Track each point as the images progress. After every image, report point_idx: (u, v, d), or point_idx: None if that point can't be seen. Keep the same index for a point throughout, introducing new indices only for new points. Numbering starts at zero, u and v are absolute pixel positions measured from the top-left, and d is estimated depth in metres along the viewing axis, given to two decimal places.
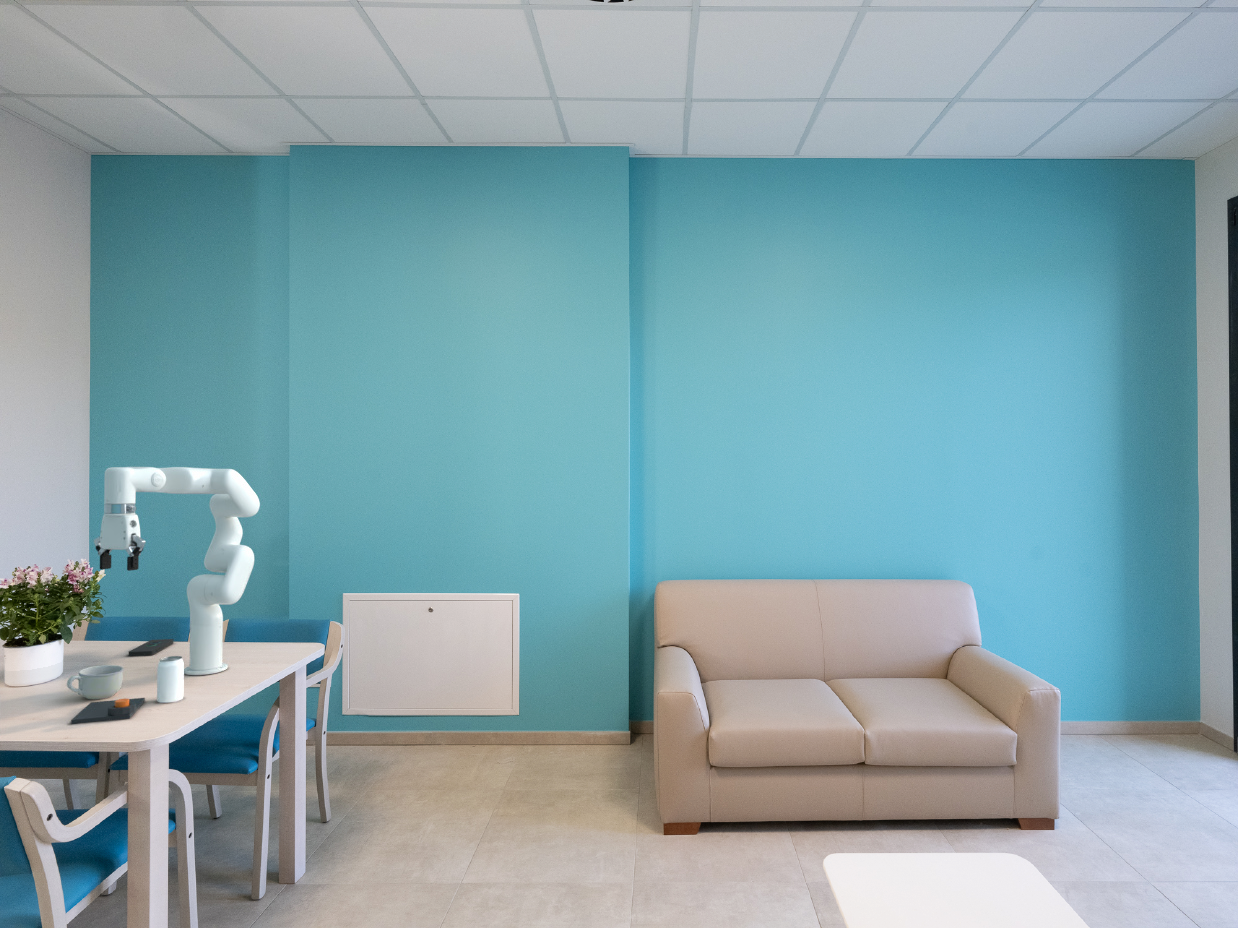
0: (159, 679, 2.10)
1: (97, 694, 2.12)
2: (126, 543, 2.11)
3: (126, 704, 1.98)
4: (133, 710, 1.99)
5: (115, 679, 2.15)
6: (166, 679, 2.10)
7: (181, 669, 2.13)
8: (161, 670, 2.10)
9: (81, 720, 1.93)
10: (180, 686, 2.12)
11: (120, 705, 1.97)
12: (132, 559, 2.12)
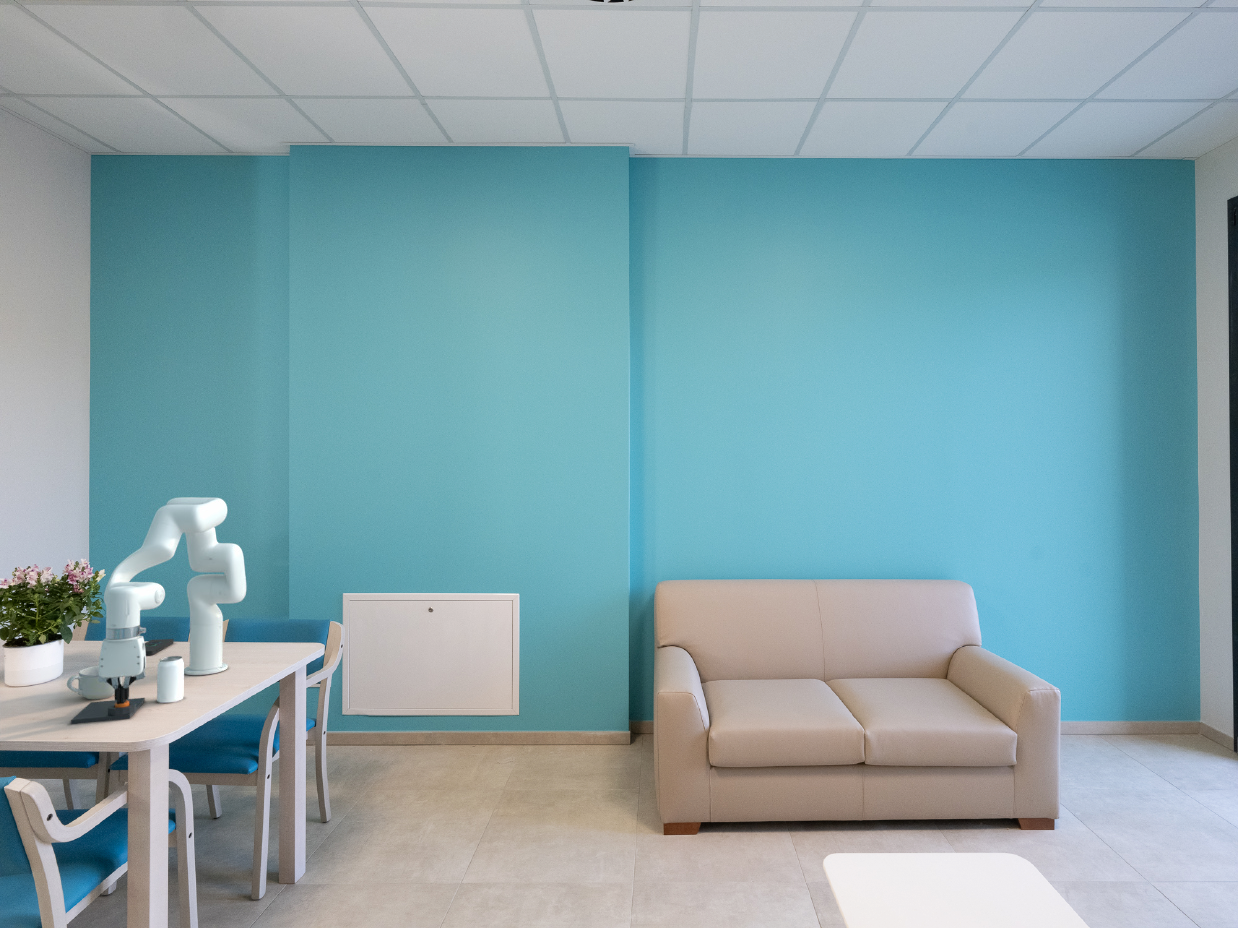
0: (159, 679, 2.10)
1: (97, 694, 2.12)
2: (140, 668, 1.99)
3: None
4: (133, 710, 1.99)
5: None
6: (166, 679, 2.10)
7: (181, 669, 2.13)
8: (161, 670, 2.10)
9: (81, 720, 1.93)
10: (180, 686, 2.12)
11: None
12: (126, 690, 1.98)
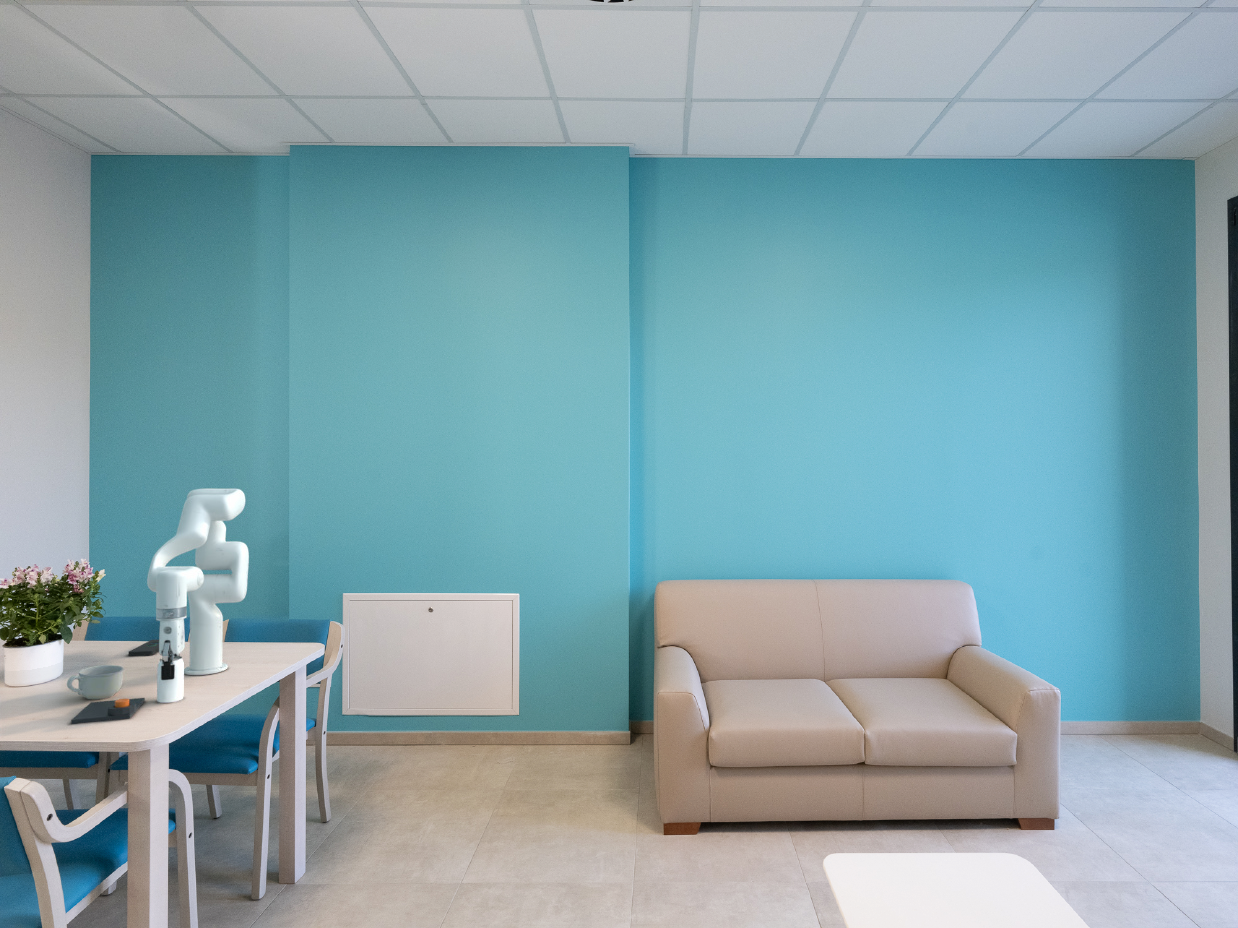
0: (159, 679, 2.10)
1: (97, 694, 2.12)
2: (159, 650, 2.08)
3: (126, 704, 1.98)
4: (133, 710, 1.99)
5: (115, 679, 2.15)
6: None
7: (181, 669, 2.13)
8: None
9: (81, 720, 1.93)
10: (180, 686, 2.12)
11: (120, 705, 1.97)
12: (164, 669, 2.09)
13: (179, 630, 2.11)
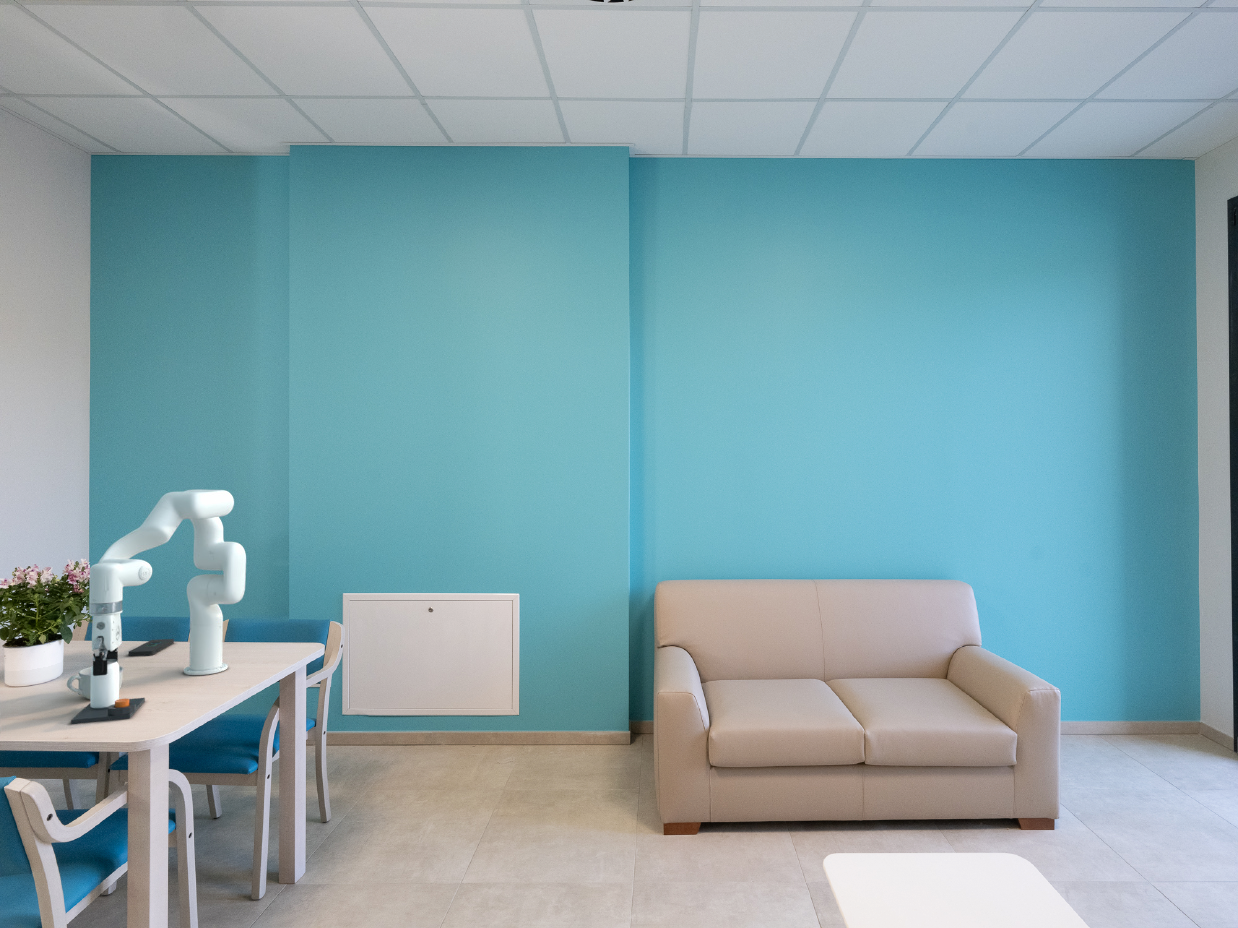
0: (92, 683, 2.01)
1: None
2: (92, 646, 1.99)
3: (126, 704, 1.98)
4: (133, 710, 1.99)
5: None
6: (99, 683, 2.01)
7: (116, 673, 2.04)
8: None
9: (81, 720, 1.93)
10: (114, 691, 2.04)
11: (120, 705, 1.97)
12: (96, 664, 1.99)
13: (113, 625, 2.02)
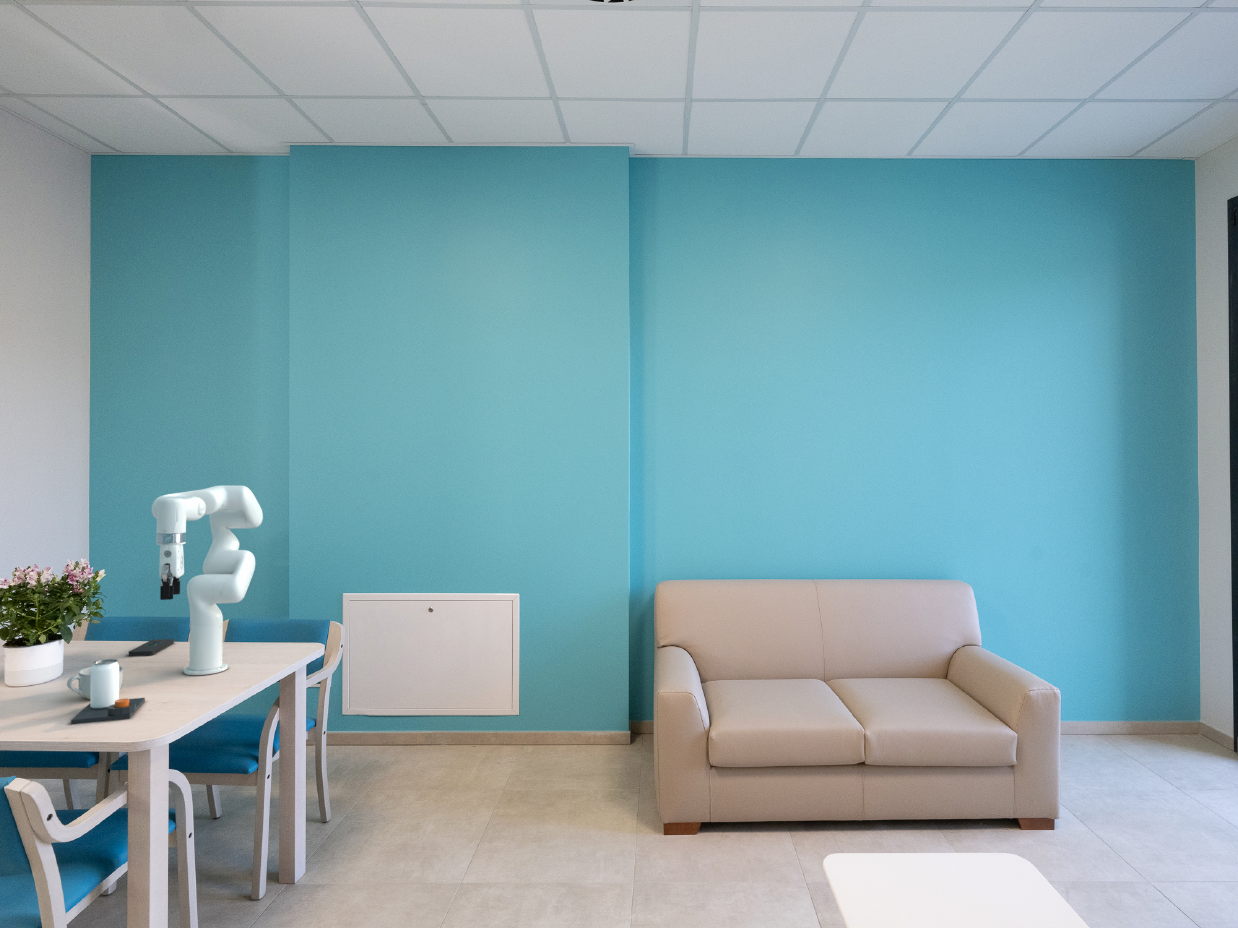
0: (92, 683, 2.01)
1: None
2: (159, 572, 2.16)
3: (126, 704, 1.98)
4: (133, 710, 1.99)
5: None
6: (99, 683, 2.01)
7: (116, 673, 2.04)
8: (94, 674, 2.01)
9: (81, 720, 1.93)
10: (114, 691, 2.04)
11: (120, 705, 1.97)
12: (163, 589, 2.16)
13: (178, 554, 2.19)
